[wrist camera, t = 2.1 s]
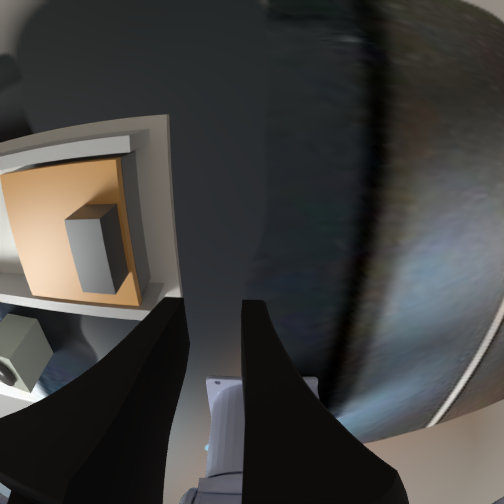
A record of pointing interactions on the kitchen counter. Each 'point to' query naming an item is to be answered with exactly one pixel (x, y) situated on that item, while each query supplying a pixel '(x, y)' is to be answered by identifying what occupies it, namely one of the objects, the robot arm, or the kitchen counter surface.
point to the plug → (22, 351)
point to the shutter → (73, 231)
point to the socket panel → (136, 199)
